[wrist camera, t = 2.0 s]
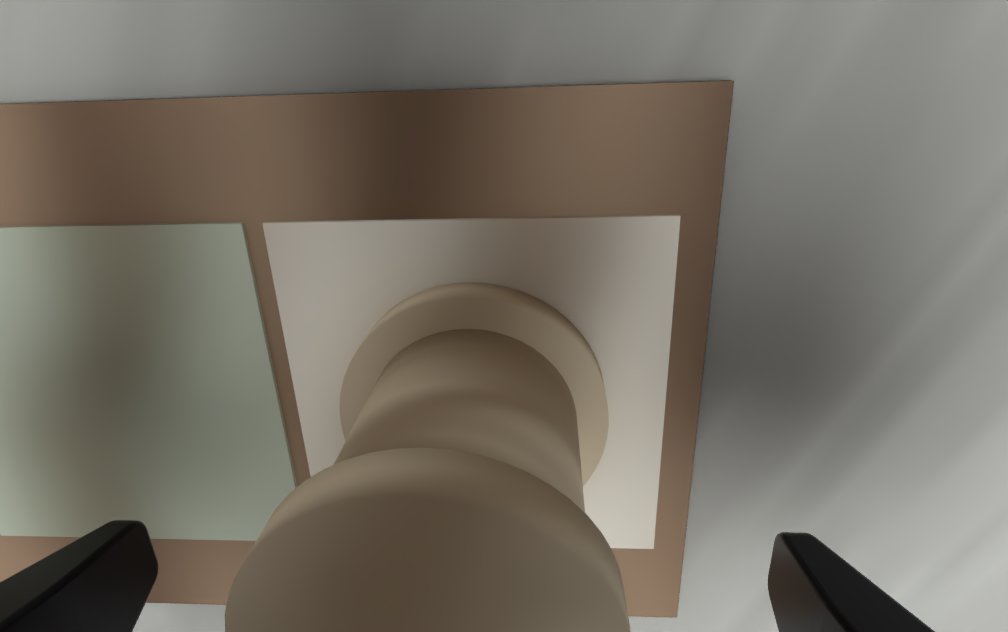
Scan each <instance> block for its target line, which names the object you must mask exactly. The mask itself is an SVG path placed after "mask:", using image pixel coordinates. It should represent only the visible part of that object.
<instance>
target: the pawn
mask: <svg viewBox="0 0 1008 632" xmlns="http://www.w3.org/2000/svg"><path fill="white" fill-rule="evenodd" d="M339 409H340V420H341V426H342V430H343V434H344V438H345V443H344V445H343V447H342V449H341V451H340V453H339V455H338V457H337V459H336V461H335V463H334V465H332V466H330V467H328V468H326V469H323V470H322V471H320V472H318V473H317V474H315V475H313V476H312V477H310V478H309V479H307V480H305V481H304V482H303V483H301V484H300V485H299V486H298V487H297V488H295V489H294V490H293V491H292V492H291V493H290V494H288V495H287V496H286V498H285V499H284V500H283V501H282V502H281V503H280V505H279V506H278V507H277V508H276V509H275V510H274V512H273V514H272V515H271V517H270V519H269V520H268V522H267V524H266V525H265V527H264V529H263V531H262V532H261V534H260V536H259V537H258V539H257V541H256V542H255V544H254V546H253V547H252V549H251V551H250V552H249V554H248V556H247V557H246V559H245V561H244V562H243V564H242V566H241V567H240V569H239V571H238V573H237V574H236V576H235V578H234V581H233V583H232V586H231V589H230V591H229V594H228V599H227V605H226V611H225V632H630V625H629V619H628V612H627V605H626V598H625V592H624V586H623V581H622V577H621V572H620V568H619V566H618V563H617V561H616V558H615V556H614V553H613V551H612V549H611V548H610V546H609V544H608V542H607V541H606V539H605V537H604V536H603V534H602V533H601V531H600V530H599V529H598V528H597V526H596V525H595V524H594V523H593V521H592V520H591V519H590V518H589V516H588V515H587V514H586V513H585V505H584V494H583V486H584V485H585V484H586V483H587V481H588V480H589V479H590V477H591V476H592V474H593V473H594V471H595V470H596V468H597V466H598V464H599V462H600V459H601V457H602V455H603V452H604V448H605V445H606V441H607V436H608V427H609V415H608V405H607V399H606V393H605V388H604V383H603V378H602V373H601V370H600V367H599V364H598V361H597V359H596V357H595V355H594V353H593V351H592V349H591V347H590V345H589V344H588V342H587V341H586V339H585V338H584V337H583V335H582V334H581V333H580V331H579V330H578V329H577V328H576V327H575V326H574V325H573V324H572V323H571V322H570V321H569V320H568V319H567V318H566V317H565V316H564V315H562V314H561V313H560V312H559V311H557V310H556V309H555V308H553V307H552V306H550V305H548V304H547V303H545V302H543V301H542V300H540V299H538V298H536V297H534V296H532V295H529V294H527V293H525V292H522V291H519V290H516V289H513V288H509V287H506V286H501V285H495V284H489V283H473V282H468V283H454V284H448V285H443V286H438V287H434V288H431V289H428V290H425V291H422V292H419V293H417V294H415V295H413V296H411V297H409V298H407V299H405V300H403V301H402V302H400V303H399V304H397V305H396V306H394V307H393V308H391V309H390V310H389V311H388V312H387V313H386V314H385V315H383V316H382V317H381V318H380V319H379V320H378V321H377V323H376V324H375V325H374V326H373V327H372V329H371V330H370V331H369V332H368V334H367V336H366V337H365V339H364V340H363V342H362V343H361V345H360V347H359V348H358V350H357V351H356V353H355V355H354V356H353V358H352V360H351V362H350V363H349V366H348V368H347V371H346V373H345V376H344V379H343V383H342V388H341V392H340V406H339Z"/></svg>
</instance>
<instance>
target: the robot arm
mask: <svg viewBox="0 0 1008 632" xmlns="http://www.w3.org/2000/svg"><path fill="white" fill-rule="evenodd" d="M157 574H158V560H157V557H156V554H155V551H154V548H153V545H152V542H151V539H150V536H149V533H148V530H147V528H146V526H145V525H144V524H143V523H142V522H141V521H137V520H114V521H110V522H108V523H106V524H104V525H103V526H101V527H99V528H97V529H95V530H93V531H92V532H90V533H88V534H86V535H84V536H83V537H81V538H79V539H77V540H75V541H74V542H72V543H70V544H68V545H66V546H65V547H63V548H61V549H59V550H57V551H56V552H54V553H52V554H50V555H48V556H47V557H45V558H43V559H41V560H39V561H38V562H36V563H34V564H32V565H30V566H28V567H27V568H25V569H23V570H21V571H19V572H18V573H16V574H14V575H12V576H10V577H9V578H7V579H5V580H3V581H1V582H0V632H132V631H133V629H134V626H135V624H136V622H137V620H138V618H139V616H140V614H141V611H142V609H143V607H144V605H145V603H146V601H147V598H148V596H149V594H150V592H151V590H152V588H153V586H154V583H155V581H156V578H157ZM768 590H769V596H770V600H771V604H772V607H773V611H774V615H775V619H776V622H777V626H778V630H779V632H935V631H933V630H932V629H931V628H930V627H928V626H927V625H926V624H924V623H923V622H922V621H921V620H919V619H918V618H917V617H916V616H914V615H913V614H912V613H911V612H909V611H908V610H907V609H905V608H904V607H903V606H902V605H900V604H899V603H898V602H897V601H895V600H894V599H893V598H892V597H890V596H889V595H888V594H886V593H885V592H884V591H883V590H881V589H880V588H879V587H878V586H876V585H875V584H874V583H873V582H871V581H870V580H869V579H867V578H866V577H865V576H864V575H862V574H861V573H860V572H859V571H857V570H856V569H855V568H854V567H852V566H851V565H850V564H849V563H847V562H846V561H845V560H843V559H842V558H841V557H840V556H838V555H837V554H836V553H835V552H833V551H832V550H831V549H830V548H828V547H827V546H826V545H824V544H823V543H822V542H821V541H819V540H818V539H817V538H816V537H814V536H813V535H811V534H808V533H792V532H783V533H780V534H778V535H777V537H776V538H775V542H774V547H773V553H772V558H771V564H770V569H769V575H768Z"/></svg>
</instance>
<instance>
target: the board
mask: <svg viewBox="0 0 1008 632" xmlns="http://www.w3.org/2000/svg"><path fill="white" fill-rule="evenodd" d="M733 84H734V81H731V80H729V81H698V82H667V83H636V84H604V85H573V86H542V87H511V88H480V89H449V90H418V91H387V92H356V93H325V94H294V95H263V96H232V97H201V98H170V99H138V100H107V101H76V102H45V103H14V104H0V582H1V581H3V580H5V579H7V578H9V577H10V576H12V575H14V574H16V573H18V572H19V571H21V570H23V569H25V568H27V567H28V566H30V565H32V564H34V563H36V562H38V561H39V560H41V559H43V558H45V557H47V556H48V555H50V554H52V553H54V552H56V551H57V550H59V549H61V548H63V547H65V546H66V545H68V544H70V543H72V542H74V541H75V540H77V539H79V538H81V537H83V536H84V535H86V534H88V533H90V532H92V531H93V530H95V529H97V528H99V527H101V526H103V525H104V524H106V523H108V522H110V521H114V520H137V521H141V522H142V523H143V524H144V525H145V526H146V528H147V530H148V533H149V536H150V539H151V542H152V545H153V548H154V551H155V554H156V557H157V560H158V574H157V578H156V581H155V583H154V586H153V588H152V590H151V592H150V594H149V596H148V598H147V601H146V602H147V603H182V604H218V605H227V599H228V594H229V591H230V589H231V586H232V583H233V581H234V578H235V576H236V574H237V573H238V571H239V569H240V567H241V566H242V564H243V562H244V561H245V559H246V557H247V556H248V554H249V552H250V551H251V549H252V547H253V546H254V544H255V542H256V541H257V539H258V537H259V536H260V534H261V532H262V531H263V529H264V527H265V525H266V524H267V522H268V520H269V519H270V517H271V515H272V514H273V512H274V510H275V509H276V508H277V507H278V506H279V505H280V503H281V502H282V501H283V500H284V499H285V498H286V496H287V495H288V494H290V493H291V492H292V491H293V490H294V489H295V488H297V487H298V486H299V485H300V484H301V483H303V482H304V481H305V480H307V479H309V478H310V477H312V476H313V475H315V474H317V473H318V472H320V471H322V470H323V469H326V468H328V467H330V466H332V465H334V463H335V461H336V459H337V457H338V455H339V453H340V451H341V449H342V447H343V445H344V443H345V438H344V434H343V430H342V426H341V420H340V409H339V406H340V392H341V388H342V383H343V379H344V376H345V373H346V371H347V368H348V366H349V363H350V362H351V360H352V358H353V356H354V355H355V353H356V351H357V350H358V348H359V347H360V345H361V343H362V342H363V340H364V339H365V337H366V336H367V334H368V332H369V331H370V330H371V329H372V327H373V326H374V325H375V324H376V323H377V321H378V320H379V319H380V318H381V317H382V316H383V315H385V314H386V313H387V312H388V311H389V310H390V309H391V308H393V307H394V306H396V305H397V304H399V303H400V302H402V301H403V300H405V299H407V298H409V297H411V296H413V295H415V294H417V293H419V292H422V291H425V290H428V289H431V288H434V287H438V286H443V285H448V284H454V283H468V282H473V283H489V284H495V285H501V286H506V287H509V288H513V289H516V290H519V291H522V292H525V293H527V294H529V295H532V296H534V297H536V298H538V299H540V300H542V301H543V302H545V303H547V304H548V305H550V306H552V307H553V308H555V309H556V310H557V311H559V312H560V313H561V314H562V315H564V316H565V317H566V318H567V319H568V320H569V321H570V322H571V323H572V324H573V325H574V326H575V327H576V328H577V329H578V330H579V331H580V333H581V334H582V335H583V337H584V338H585V339H586V341H587V342H588V344H589V345H590V347H591V349H592V351H593V353H594V355H595V357H596V359H597V361H598V364H599V367H600V370H601V373H602V378H603V383H604V388H605V393H606V399H607V405H608V415H609V427H608V436H607V441H606V445H605V448H604V452H603V455H602V457H601V459H600V462H599V464H598V466H597V468H596V470H595V471H594V473H593V474H592V476H591V477H590V479H589V480H588V481H587V483H586V484H585V485H584V486H583V494H584V505H585V513H586V514H587V515H588V516H589V518H590V519H591V520H592V521H593V523H594V524H595V525H596V526H597V528H598V529H599V530H600V531H601V533H602V534H603V536H604V537H605V539H606V541H607V542H608V544H609V546H610V548H611V549H612V551H613V553H614V556H615V558H616V561H617V563H618V566H619V568H620V572H621V577H622V581H623V586H624V592H625V598H626V605H627V612H628V616H642V617H677V611H678V602H679V593H680V583H681V574H682V564H683V555H684V546H685V536H686V527H687V517H688V508H689V498H690V489H691V480H692V470H693V461H694V451H695V442H696V433H697V423H698V414H699V404H700V395H701V386H702V376H703V367H704V357H705V348H706V339H707V329H708V320H709V310H710V301H711V291H712V282H713V273H714V263H715V254H716V244H717V235H718V226H719V216H720V207H721V197H722V188H723V179H724V169H725V160H726V150H727V141H728V132H729V122H730V113H731V103H732V94H733Z"/></svg>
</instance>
